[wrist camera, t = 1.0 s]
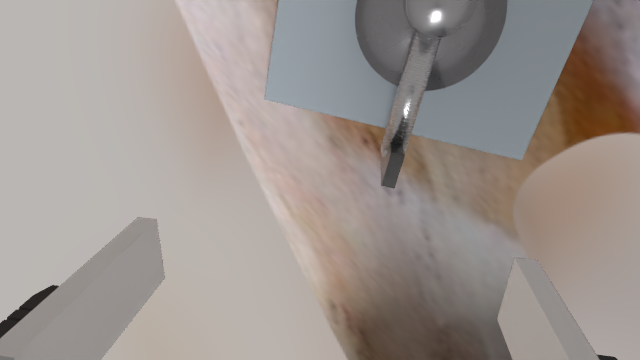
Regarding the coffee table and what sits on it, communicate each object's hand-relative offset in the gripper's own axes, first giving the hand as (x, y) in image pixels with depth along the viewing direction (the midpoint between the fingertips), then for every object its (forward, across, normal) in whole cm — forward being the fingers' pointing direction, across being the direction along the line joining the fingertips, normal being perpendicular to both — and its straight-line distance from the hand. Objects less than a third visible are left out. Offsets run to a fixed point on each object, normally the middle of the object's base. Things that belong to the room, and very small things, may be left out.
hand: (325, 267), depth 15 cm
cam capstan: (+20, +4, +8) cm, 22 cm away
